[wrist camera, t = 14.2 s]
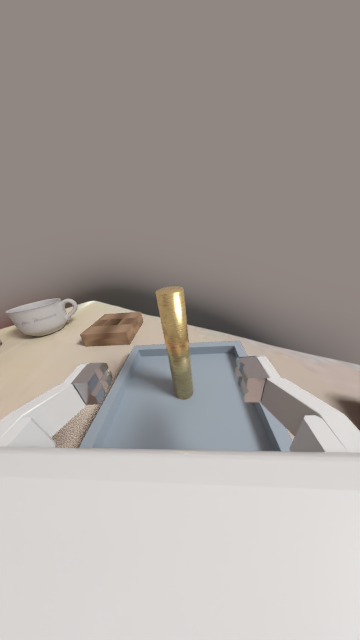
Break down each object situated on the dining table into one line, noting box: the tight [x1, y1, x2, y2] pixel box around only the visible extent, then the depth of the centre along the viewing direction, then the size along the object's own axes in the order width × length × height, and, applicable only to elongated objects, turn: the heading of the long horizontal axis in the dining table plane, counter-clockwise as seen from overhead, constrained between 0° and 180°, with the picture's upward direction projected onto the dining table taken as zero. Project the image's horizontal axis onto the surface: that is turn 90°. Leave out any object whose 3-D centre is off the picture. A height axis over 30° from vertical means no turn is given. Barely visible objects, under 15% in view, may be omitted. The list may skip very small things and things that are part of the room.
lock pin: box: [156, 286, 194, 400], centre depth 15 cm, size 2×2×13 cm
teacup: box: [6, 298, 77, 336], centre depth 39 cm, size 14×11×8 cm
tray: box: [79, 341, 293, 452], centre depth 18 cm, size 18×16×2 cm
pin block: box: [80, 312, 143, 346], centre depth 35 cm, size 10×10×3 cm
